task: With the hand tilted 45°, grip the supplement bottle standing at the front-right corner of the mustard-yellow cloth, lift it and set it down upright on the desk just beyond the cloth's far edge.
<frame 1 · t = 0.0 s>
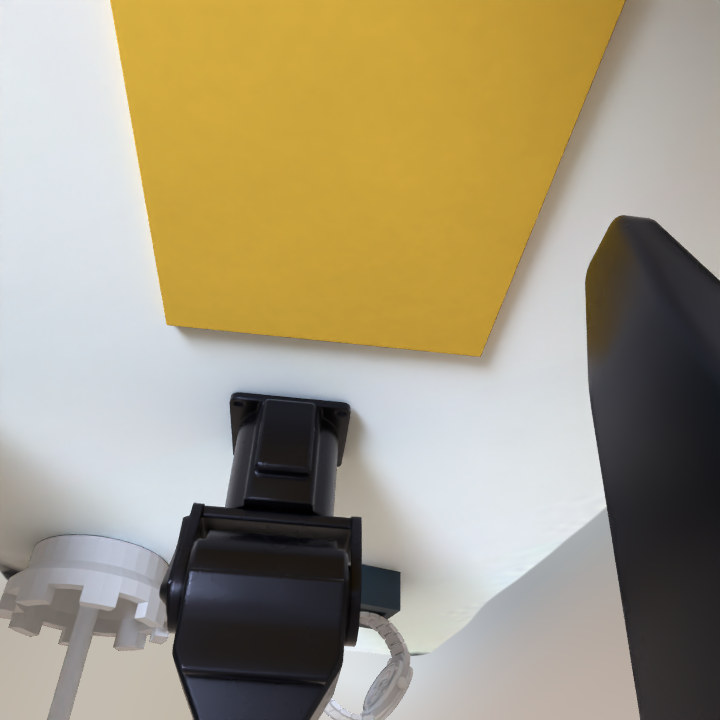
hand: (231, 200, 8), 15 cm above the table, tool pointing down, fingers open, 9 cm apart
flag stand: (103, 559, 57), on the table
cloth: (344, 171, 25), on the table
watch: (364, 576, 58), on the table
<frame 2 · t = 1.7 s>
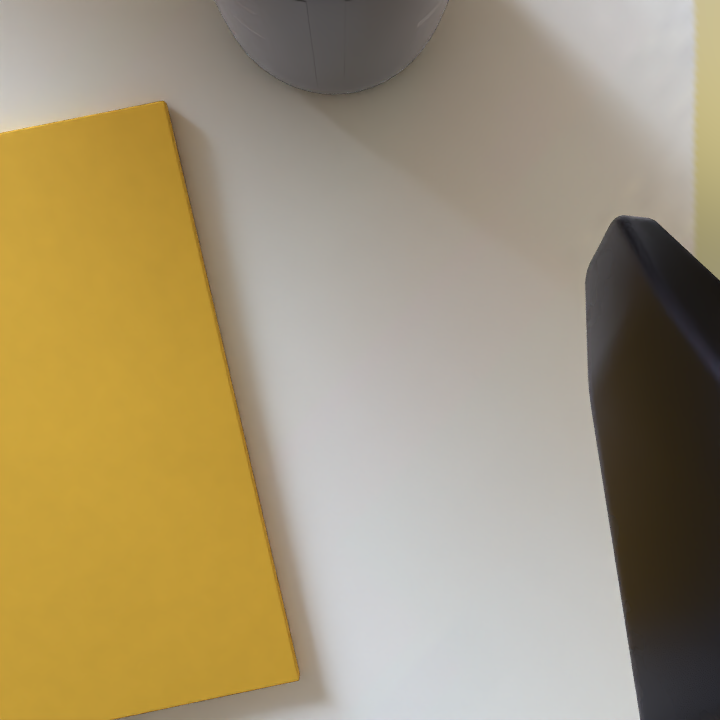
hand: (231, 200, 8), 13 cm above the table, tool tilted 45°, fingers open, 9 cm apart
cloth: (7, 454, 22), on the table
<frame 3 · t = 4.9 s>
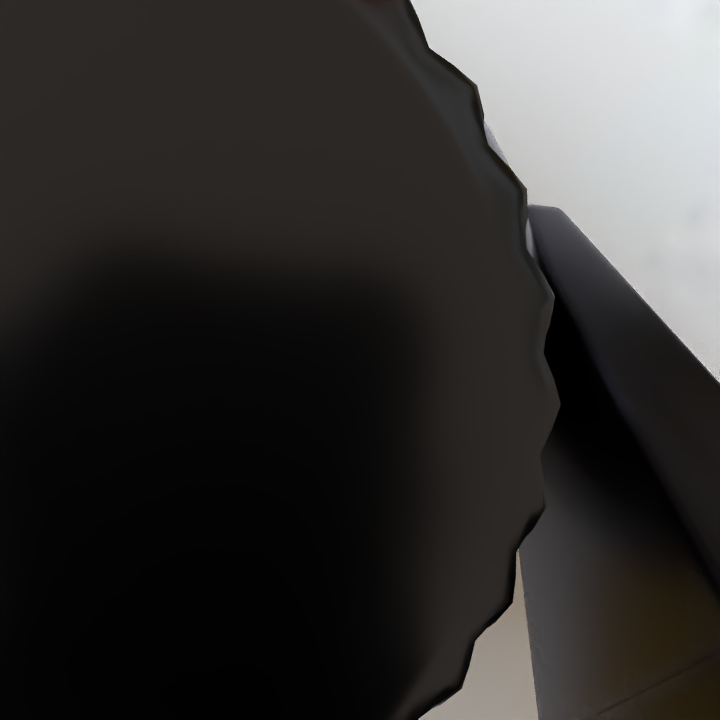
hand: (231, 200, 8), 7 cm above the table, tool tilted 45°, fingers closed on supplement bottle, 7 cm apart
supplement bottle: (269, 297, 15), on the table, touching gripper
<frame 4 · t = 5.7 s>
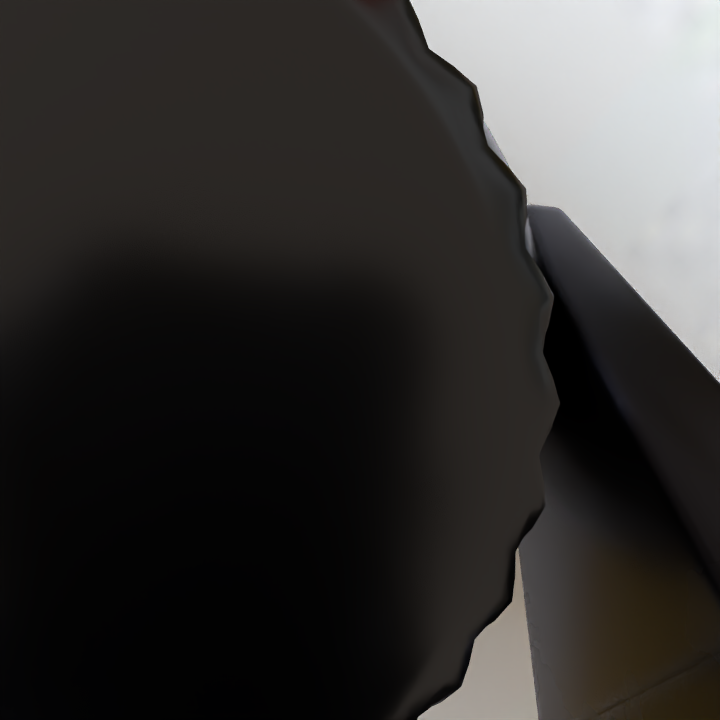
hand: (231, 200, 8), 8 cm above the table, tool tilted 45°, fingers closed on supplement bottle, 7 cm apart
supplement bottle: (269, 297, 15), point 1 cm above the table, touching gripper
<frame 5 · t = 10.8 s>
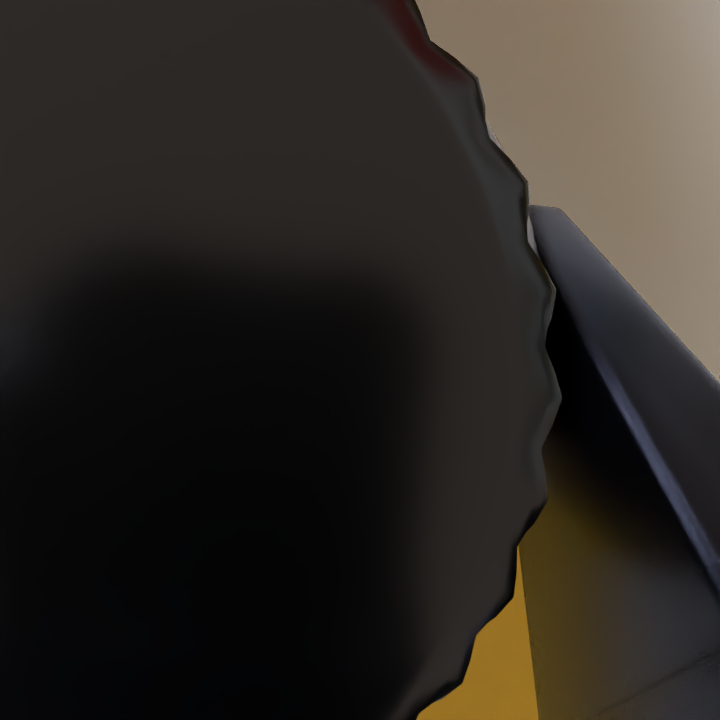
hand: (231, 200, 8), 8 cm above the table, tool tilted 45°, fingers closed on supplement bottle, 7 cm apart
supplement bottle: (269, 296, 15), point 1 cm above the table, touching gripper
when the fingers open (7 cm above the table, at t = 11.9 s): supplement bottle stays where it is, on the table.
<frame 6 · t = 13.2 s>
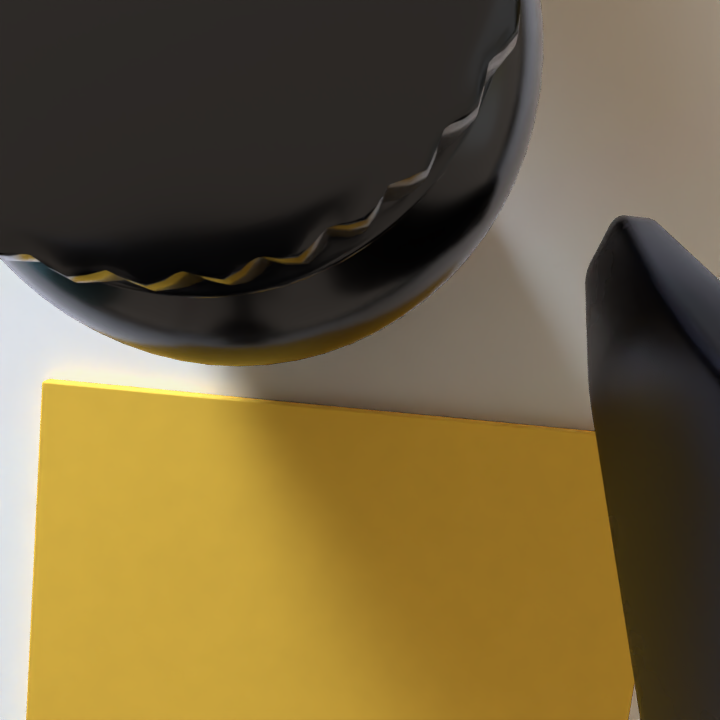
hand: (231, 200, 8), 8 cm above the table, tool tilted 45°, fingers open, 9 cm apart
supplement bottle: (285, 168, 16), on the table
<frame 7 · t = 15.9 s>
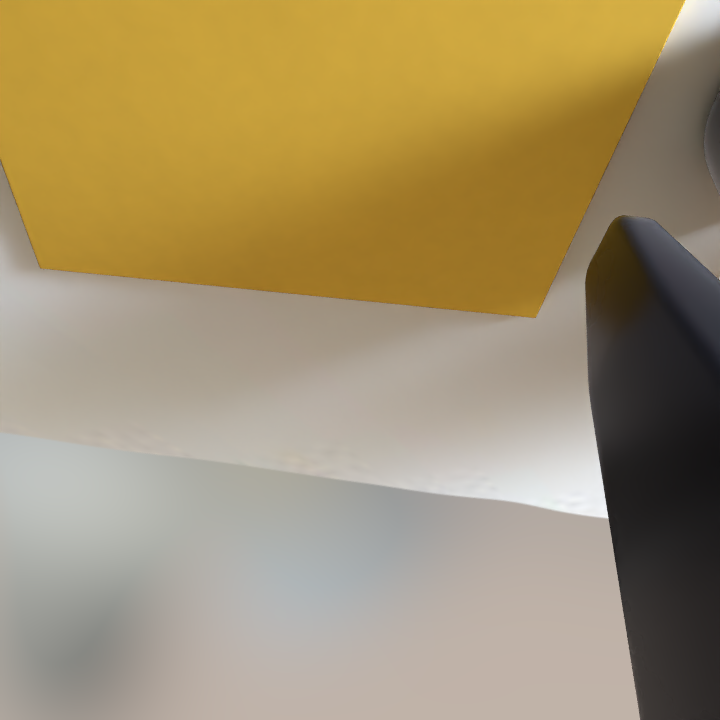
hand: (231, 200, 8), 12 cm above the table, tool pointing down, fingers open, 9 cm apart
cloth: (302, 113, 20), on the table
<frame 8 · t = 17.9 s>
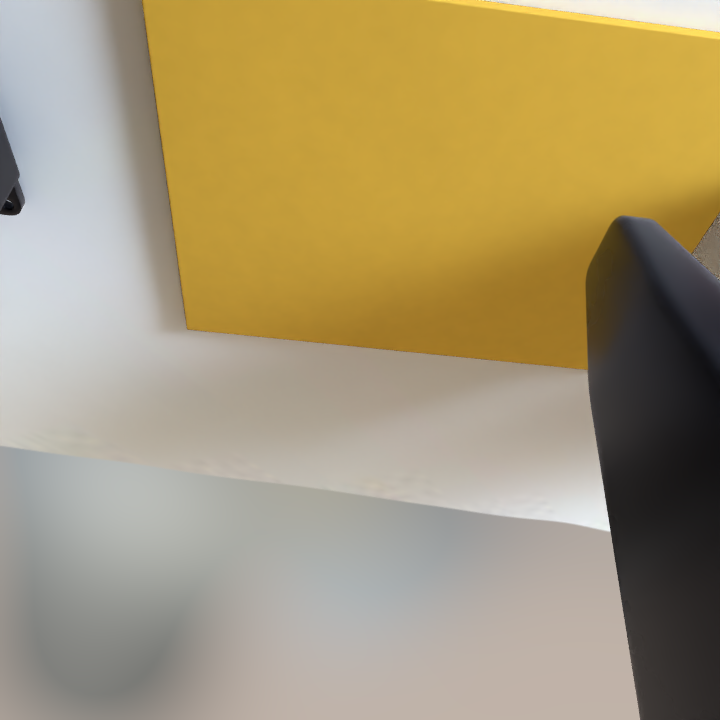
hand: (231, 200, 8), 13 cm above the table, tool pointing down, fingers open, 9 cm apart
cloth: (437, 214, 25), on the table
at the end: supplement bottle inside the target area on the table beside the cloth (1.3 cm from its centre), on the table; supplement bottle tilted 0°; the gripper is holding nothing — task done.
